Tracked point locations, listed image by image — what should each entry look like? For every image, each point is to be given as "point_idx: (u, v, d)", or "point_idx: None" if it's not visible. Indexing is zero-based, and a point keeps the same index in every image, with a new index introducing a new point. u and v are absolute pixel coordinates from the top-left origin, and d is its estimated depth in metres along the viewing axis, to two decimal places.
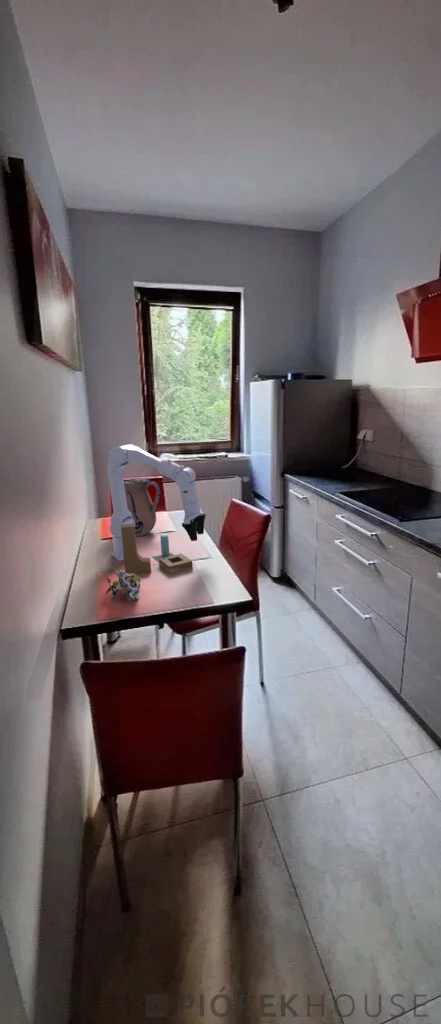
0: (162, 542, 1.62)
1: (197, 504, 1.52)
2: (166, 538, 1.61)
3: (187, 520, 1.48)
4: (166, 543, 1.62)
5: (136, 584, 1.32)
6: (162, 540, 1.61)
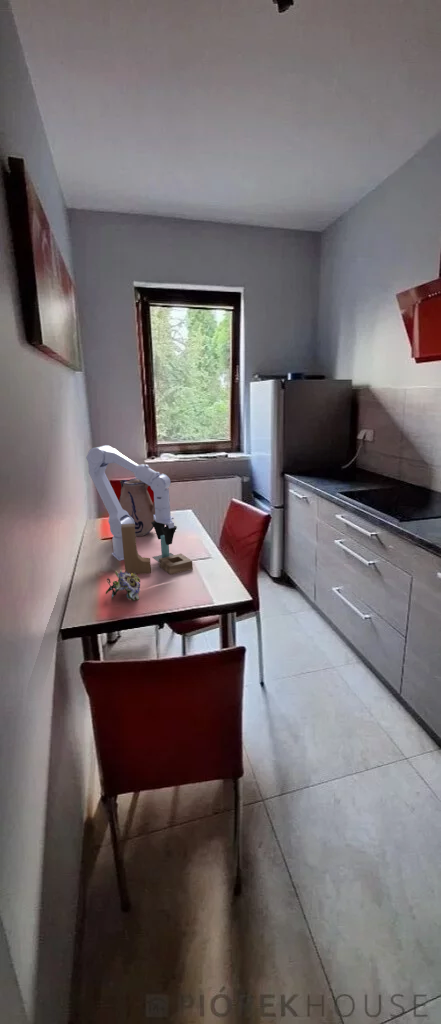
0: (162, 542, 1.62)
1: None
2: None
3: (172, 524, 1.55)
4: None
5: (136, 584, 1.32)
6: (162, 540, 1.61)
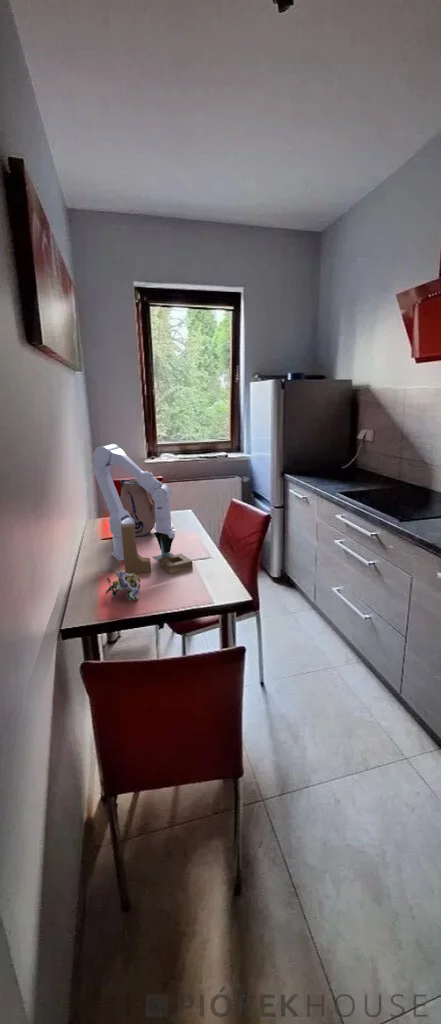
0: None
1: None
2: None
3: (173, 534, 1.56)
4: None
5: (136, 584, 1.32)
6: None
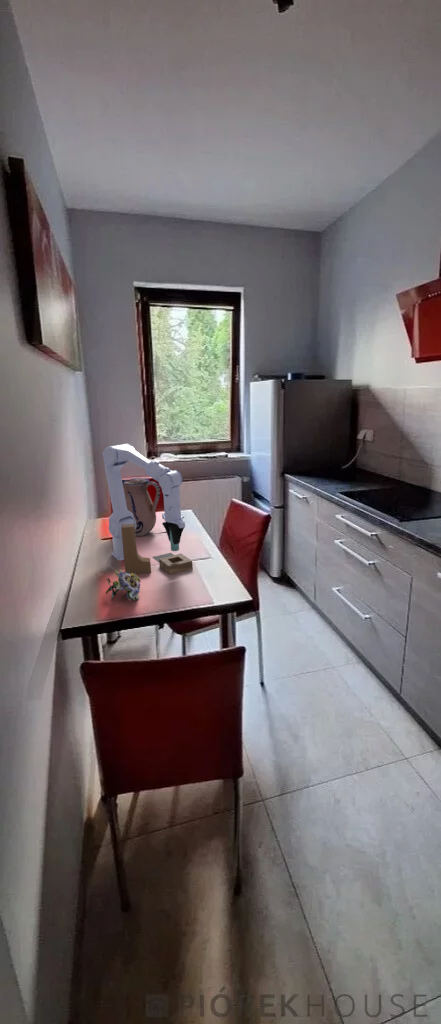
0: None
1: None
2: None
3: (183, 524, 1.44)
4: None
5: (136, 584, 1.32)
6: None
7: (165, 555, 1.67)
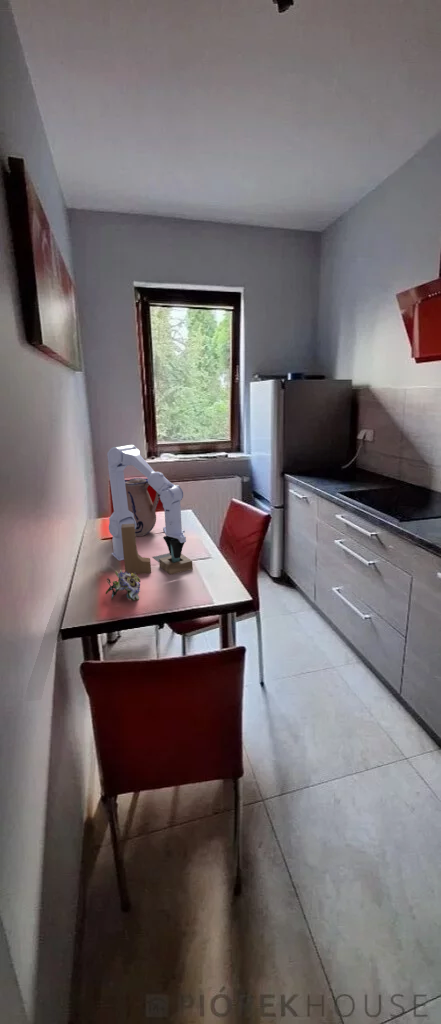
0: None
1: None
2: None
3: (184, 538, 1.46)
4: None
5: (136, 584, 1.32)
6: None
7: (165, 555, 1.67)
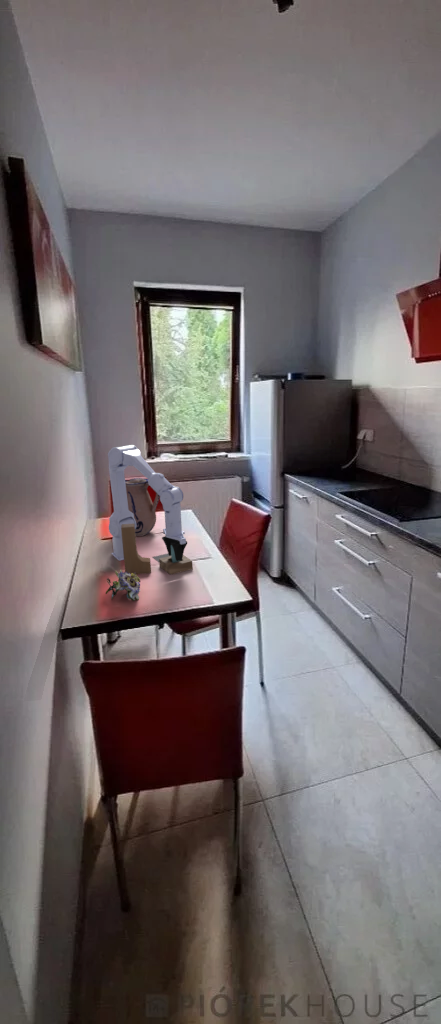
0: (172, 552, 1.52)
1: None
2: None
3: (184, 540, 1.46)
4: None
5: (136, 584, 1.32)
6: (172, 550, 1.52)
7: (165, 555, 1.67)
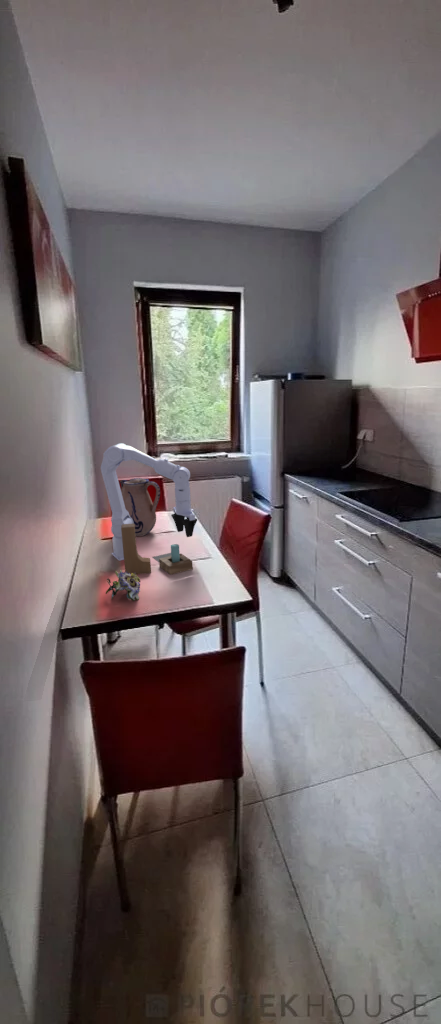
0: (172, 552, 1.52)
1: None
2: (177, 548, 1.52)
3: (193, 516, 1.56)
4: (177, 553, 1.52)
5: (136, 584, 1.32)
6: (172, 550, 1.52)
7: (165, 555, 1.67)
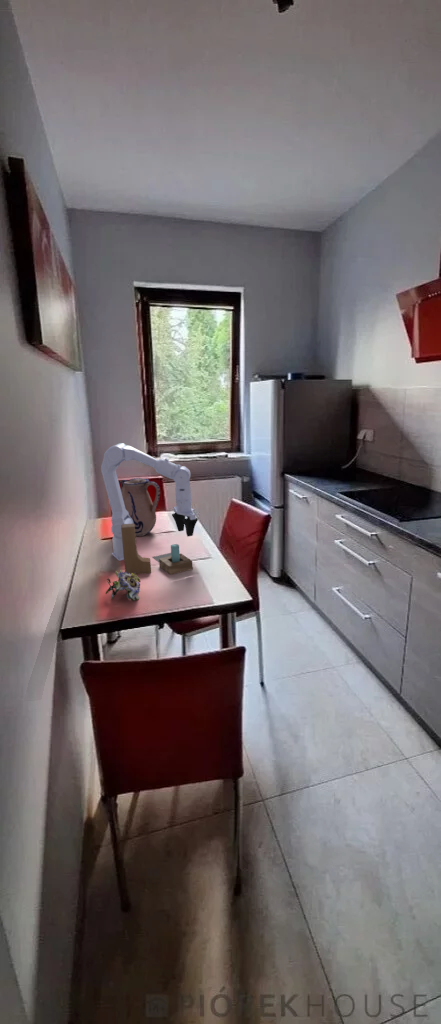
0: (172, 552, 1.52)
1: None
2: (177, 548, 1.52)
3: (194, 516, 1.57)
4: (177, 553, 1.52)
5: (136, 584, 1.32)
6: (172, 550, 1.52)
7: (165, 555, 1.67)
